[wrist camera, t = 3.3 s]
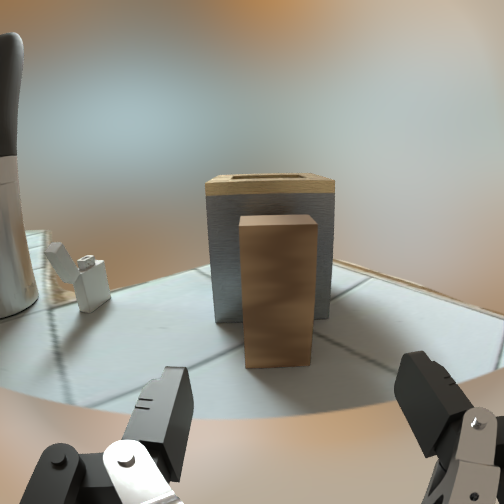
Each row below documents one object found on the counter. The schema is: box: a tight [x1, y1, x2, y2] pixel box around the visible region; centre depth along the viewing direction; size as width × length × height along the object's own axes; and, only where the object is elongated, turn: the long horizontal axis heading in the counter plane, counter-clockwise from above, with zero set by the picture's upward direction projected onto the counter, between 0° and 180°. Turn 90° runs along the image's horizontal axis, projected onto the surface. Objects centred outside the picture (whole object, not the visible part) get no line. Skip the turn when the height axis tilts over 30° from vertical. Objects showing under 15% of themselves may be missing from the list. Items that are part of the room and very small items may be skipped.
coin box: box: [205, 173, 335, 323], centre depth 30 cm, size 10×10×12 cm
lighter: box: [44, 242, 111, 313], centre depth 28 cm, size 7×2×8 cm, turn 169°
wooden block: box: [239, 215, 318, 368], centre depth 20 cm, size 4×3×10 cm, turn 90°
